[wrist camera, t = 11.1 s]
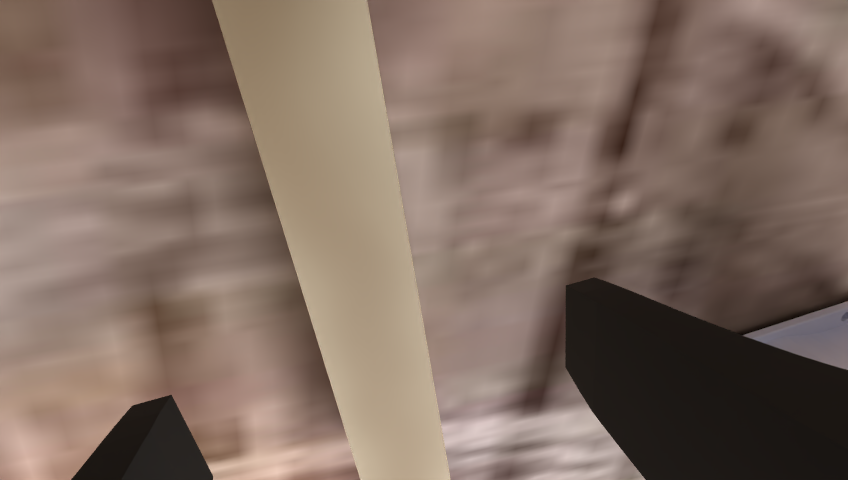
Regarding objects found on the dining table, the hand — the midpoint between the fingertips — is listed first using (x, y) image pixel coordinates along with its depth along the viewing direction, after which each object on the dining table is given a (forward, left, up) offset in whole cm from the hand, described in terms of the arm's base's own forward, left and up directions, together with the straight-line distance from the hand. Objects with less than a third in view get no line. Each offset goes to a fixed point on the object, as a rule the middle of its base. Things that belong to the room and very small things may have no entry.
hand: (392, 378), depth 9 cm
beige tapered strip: (0, 0, -7) cm, 7 cm away
